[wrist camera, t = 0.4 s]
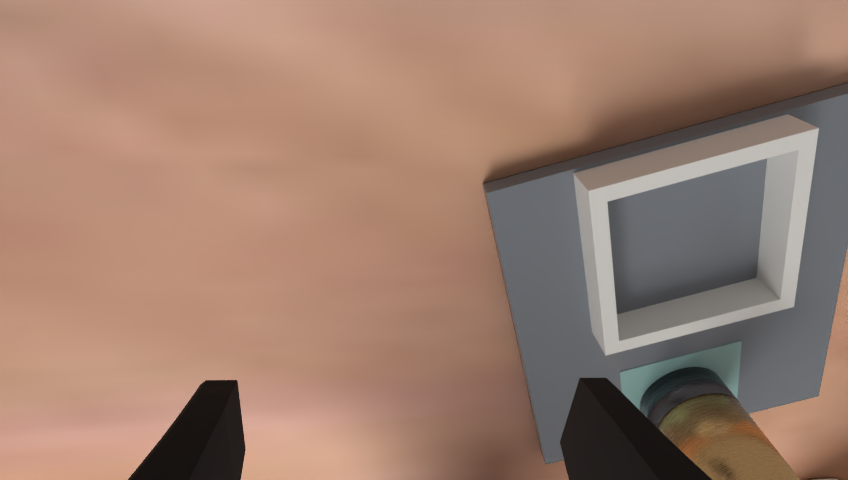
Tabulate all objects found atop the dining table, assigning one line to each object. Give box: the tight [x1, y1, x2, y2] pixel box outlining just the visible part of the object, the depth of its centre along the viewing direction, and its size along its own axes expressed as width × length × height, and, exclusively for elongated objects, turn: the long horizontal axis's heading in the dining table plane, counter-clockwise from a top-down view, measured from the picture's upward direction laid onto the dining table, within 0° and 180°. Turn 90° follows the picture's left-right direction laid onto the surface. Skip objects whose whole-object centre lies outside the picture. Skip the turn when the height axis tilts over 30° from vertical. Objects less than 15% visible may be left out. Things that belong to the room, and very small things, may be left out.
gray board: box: [483, 83, 848, 464], centre depth 23 cm, size 16×14×2 cm
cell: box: [640, 367, 800, 480], centre depth 23 cm, size 4×4×7 cm
